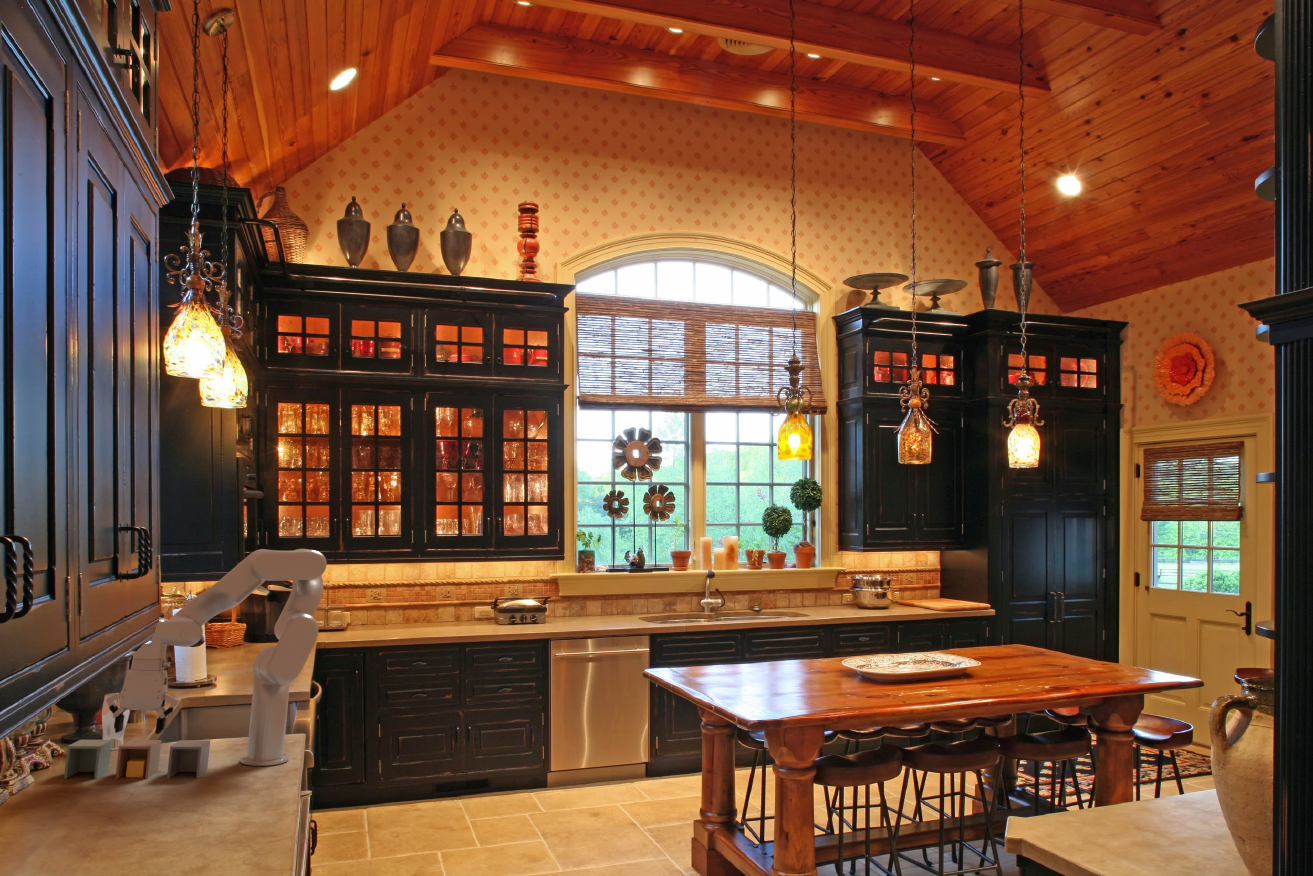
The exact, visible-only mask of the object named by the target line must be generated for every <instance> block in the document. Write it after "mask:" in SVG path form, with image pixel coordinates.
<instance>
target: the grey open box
mask: <svg viewBox="0 0 1313 876" xmlns="http://www.w3.org/2000/svg"><path fill="white" fill-rule="evenodd" d="M210 745H211V740H210V739H209V740H207V739H205V740H204V739H203V740H200V739H198V740H197V739H196V740H194V739H193V740H191V739H185V740H184V739H183V740H182V739H180V740H178V741H176V742H175V743H173V744H172V745H170V746H169V754H168V755H169V756H168V762H167V763H168V765H167V774H166V779H167V780H170V779H171V778H172V777H174V776H175V775H176V774H177V773H182V772H183V773H196V775H195V776H196V777H195V779H196V778H197V780H199V779H200V778H201V777H202V776H204V775H205V774H206V773H207V772H208V765H209V756H210V748H211V747H210Z"/></svg>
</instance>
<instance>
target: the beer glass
mask: <svg viewBox="0 0 1313 876" xmlns="http://www.w3.org/2000/svg"><path fill="white" fill-rule="evenodd" d="M119 693H120V692H115V693H114V692H113V693H107V694H105V695H104V700H103V703H102V710H101V722H102V723H101V724H102V738H101V740H112V746H111V751H119V746H121V745H122V744H124V743H125V741H124V737H125V729H126V726H127V724H128V722H129V721H128V720H129V717H130V713H131V710H126V711H125V712H124V713H123V715H124V723H123V730H122V731H120V732H118V733H115V729H114V723H115V716H114V714H113V713H112V712H111V710H110V709H109V706H108V703H107V701H106V699H107V698H109V697H112V696H114V695H116V694H119ZM120 699H121V698H119V699H116V700H115V705H116V706H117V707H118V708H120Z"/></svg>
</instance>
